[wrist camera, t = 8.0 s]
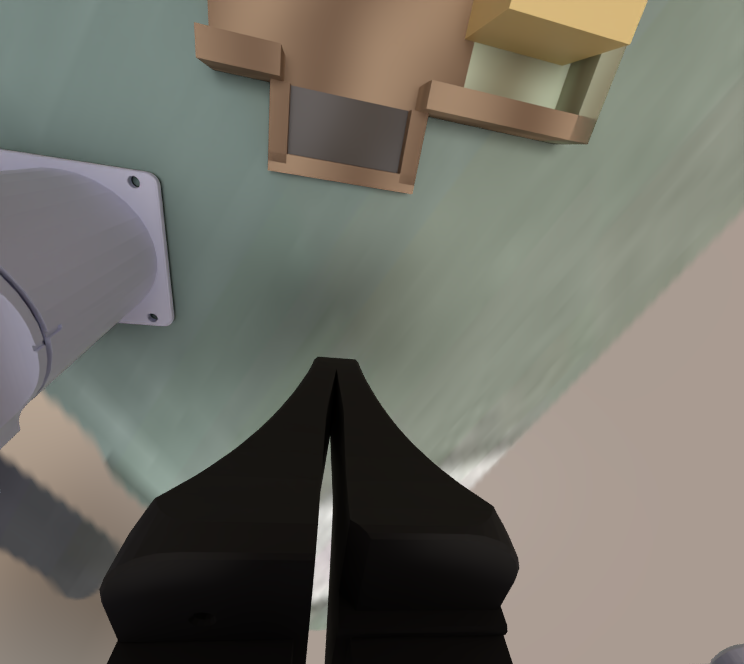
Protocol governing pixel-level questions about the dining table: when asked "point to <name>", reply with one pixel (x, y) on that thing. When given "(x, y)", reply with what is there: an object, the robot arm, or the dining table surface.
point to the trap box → (390, 82)
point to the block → (555, 27)
